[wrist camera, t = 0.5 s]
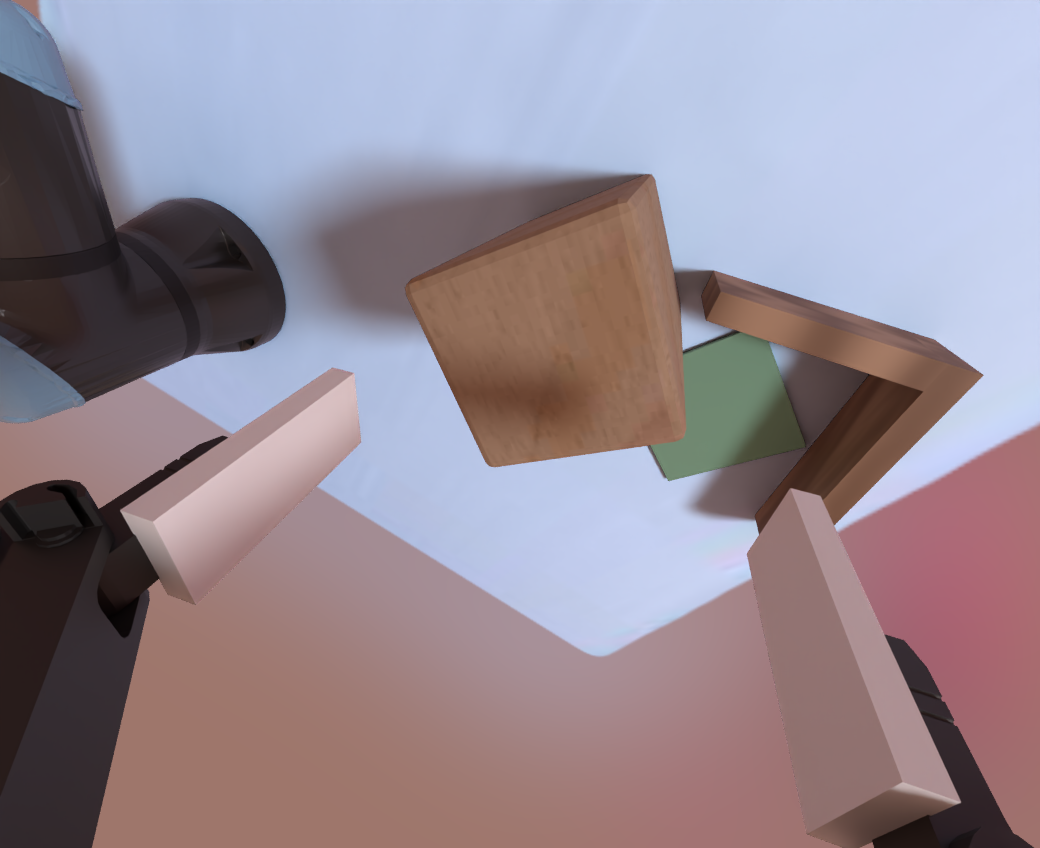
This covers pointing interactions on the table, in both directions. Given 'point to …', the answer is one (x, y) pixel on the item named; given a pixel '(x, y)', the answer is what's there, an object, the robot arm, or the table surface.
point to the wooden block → (563, 331)
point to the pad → (730, 408)
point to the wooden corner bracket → (873, 407)
